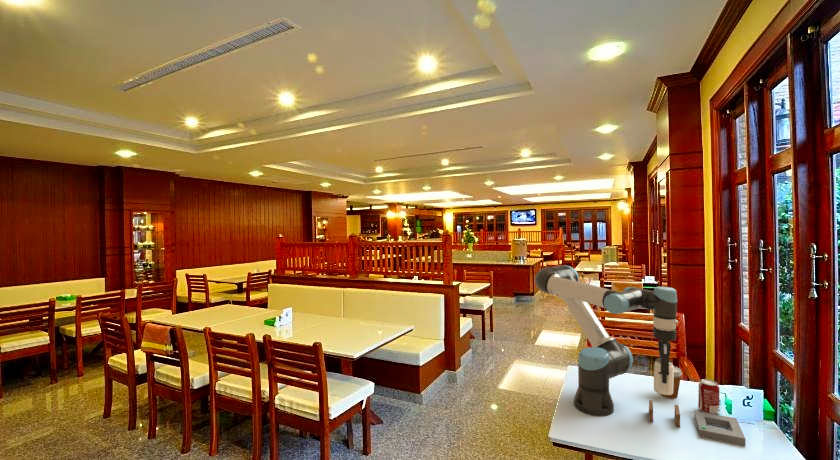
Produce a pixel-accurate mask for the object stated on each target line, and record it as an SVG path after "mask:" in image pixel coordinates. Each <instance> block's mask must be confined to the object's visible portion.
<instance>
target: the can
mask: <svg viewBox="0 0 840 460" xmlns="http://www.w3.org/2000/svg"><path fill="white" fill-rule="evenodd" d="M658 372H661V359H659V358H656V359H655V362H654V364H653V391H654V392H656V394H660V395H661V394H662V395H672V394H673V385H674V364H673V361H671V360H670V359H669V380H668V392H667V391H661V390H660V374H658ZM662 395H661V396H662Z"/></svg>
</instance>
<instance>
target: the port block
mask: <svg viewBox="0 0 840 460" xmlns="http://www.w3.org/2000/svg"><path fill="white" fill-rule="evenodd" d="M693 412H694V414H693V417H694V421H695V425H696V429H697V432H698V436H699V437H700V438H705V439H711V440H716V441H721V442H726V443H730V444H735V445H739V444H740V446H744V447H745V446H746V437H745V434H744V433H743V430H742V427H741V426H740V424H739V421H738V419H737V418H736V417H732V416H731V417H730V416H726V415H720V414H710V413H705V412H702V411H700V410H699V411H698V410H694V411H693ZM708 425H711V426H708ZM712 426H718V427H712ZM719 427H723V428H727V429H722V428H719Z"/></svg>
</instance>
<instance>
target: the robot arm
mask: <svg viewBox="0 0 840 460" xmlns="http://www.w3.org/2000/svg"><path fill="white" fill-rule="evenodd" d="M579 277H580V276H579V273H578V271H576V269H575V268H573V267H572V266H570V265H563V264H561V265H556V266H551V267H550V266H549V267H543V268H541V269H540V270H539V271H537V273H535V277H534V284H535V286H536V288H537V289H538V290H539V291H540V292H542V293H545V294H549V295H551V296H555V295H556V296H557V298H558V299H562V300H563V302H564V303H565V305H566V307H567V308H568V310H569V311H570V313H571V315H572V316H573V318H574V319H575V322H577V324H578V326H579V327H580V329H581V330H582V332H583V334H584V336H585V337H586V338H587V340H588V341H589V343H590V345H591V347H585V348H582V349H581V350H580V351H579V353H578V358H577V363H578V364H577V365H578V366H577V369H578V371H577V373H578V374H577V375H578V381H577V383H578V386H577V389H576V392H575V395H574V397H573V406H574V407H575V408H576V409H577V410H579V411H580V412H582V413H584V414H588V415H590V416H602V417H603V416H609V415H612V414H614V411H615V406H614V402H613V399H612V395H611V393H610V379H612V378H616V377H617V376H618V377H619V376H621V375H624V374H625V373H627V372H628V371H631V369H632V367H633V362H634V357H633V354H632V352H631V350H630V349H629V348H628V347H627V346H626V345H623V344H621V343H619V341H618V340H617V339H616V337H614V336H613V337H612V336H610V334H609V333H608V331H607V330H606V329H605V327H604V326H603V324H602V322H601V321H600V319H599V318H598V317H597V315H596V313H595V312H594V310H593V309H592V308H591V306H590V305H594V306H597V307H600V308H604V309H606V311H608V313H610V314H613V315H616V314H620V315H621V314H623V313H627V312H630V311H634V310H638V309H643V310H644V309H645V310H648V311H652V312H653V317H652V319H653V320H652V321H653V323H652V326H653V329H652V330H653V331H652V335H653V337H654V338H655V339H657V340H658V342H657V345H658V353H659V358H658V359H661V372H658V374H660V390H661V391H667V392H668V380H669V360H670V356H671V350H672V346H671V342H672V341H675V340H677V330H676V329H677V324H679V320H677V312H678V295H677V290H676V289H675V288H673V287H671V286H669V287H668V286H656V287H654V289H653V290H649V289H644V288H643V289H642V288H638V287H635V286H634V287H632V286H627V287H625V288H624V289H623V290H622V291H616V290H611V289H608V288H604V287H601V286H598V285H597V286H596V285H593V284H588V283H585V282H580V278H579ZM670 341H671V342H670Z"/></svg>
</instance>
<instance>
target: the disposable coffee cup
mask: <svg viewBox="0 0 840 460" xmlns="http://www.w3.org/2000/svg"><path fill="white" fill-rule="evenodd" d="M673 366H674V365H673ZM682 376H683V372H682V370H681V368H679V367H678V366H674V385H673V394H672V395H662V394H660V395H661V396H662V397H663V398H666V399H669V400H670V399H677V398H678V395H679V389H680V382H681V377H682Z"/></svg>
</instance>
